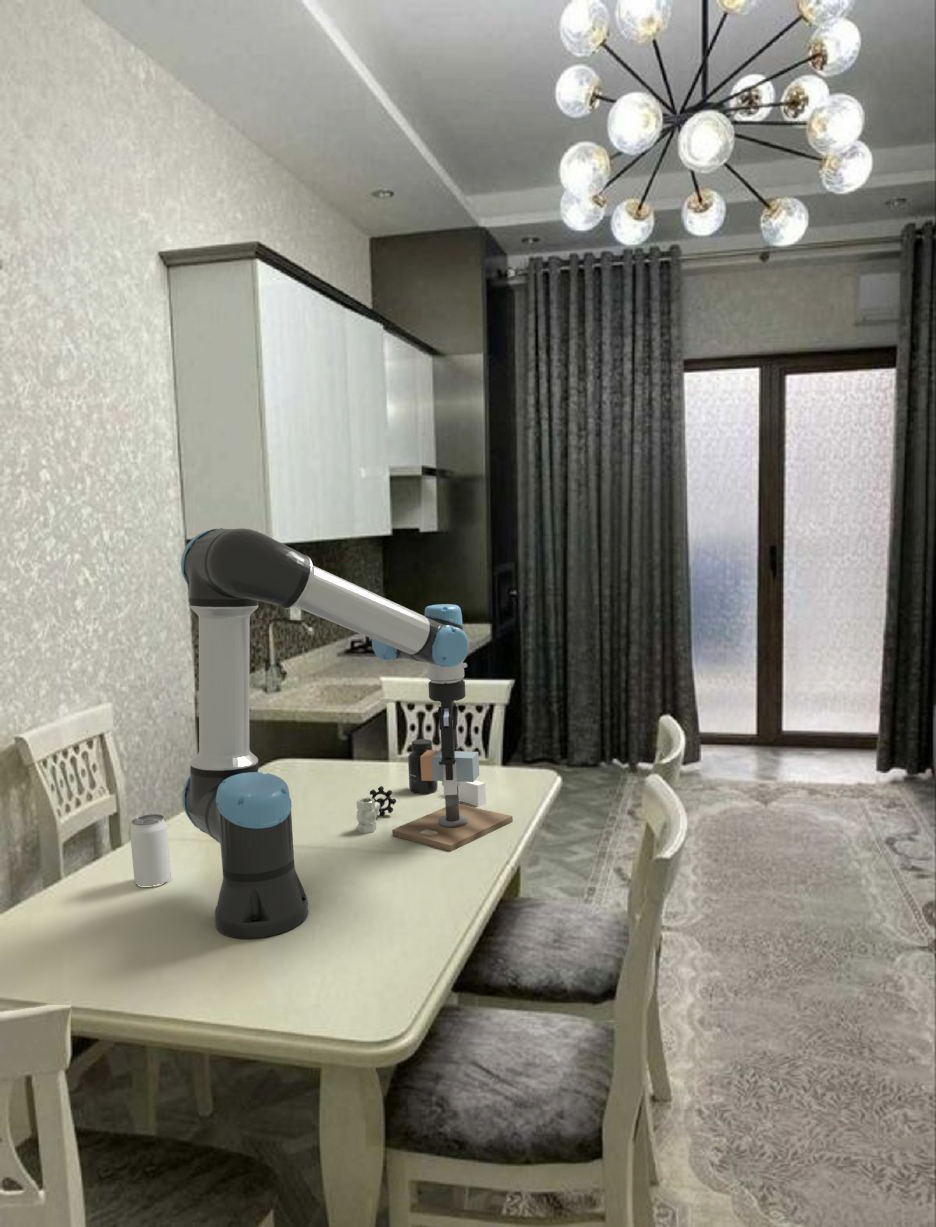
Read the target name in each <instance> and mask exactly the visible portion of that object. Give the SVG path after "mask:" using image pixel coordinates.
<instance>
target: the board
mask: <svg viewBox="0 0 936 1227" xmlns="http://www.w3.org/2000/svg"><path fill="white" fill-rule="evenodd" d="M444 803H445V805H444V806H445V807H443V808H441V809H438V810H435V811H433V812H431V813H429V814H426V815H424V816H421V817H420V818H417V819H414V820H411V821H409V822H407V823H405V824H403V825H399V826H397V827H395V828H393V829H391V833H392V834H391V835H392V836H394V837H396V838H401V839H405V840H408V841H412V842H416V843H419V844H423V845H427V846H430V847H434V848H438V849H442V850H446V851H449V852H452V851H455V850H457V849H459V848H460V847H463V846H466V845H467V844H469V843H471V842H473V841H475V840H477V839H479V838H481V837H484V836H486V835H487V834H490V833H492V832H495V830H497V829H498V830H499V829H500V828H502V827H504V826H507V825H509V824H511V823H513V821H514V820H513V815H509V814H505V813H501V812H496V811H492V810H488V809H487V810H486V809H482V808H479V807H474V806H469V805H465V804H460V801H459V797H458V786H457V795H444Z"/></svg>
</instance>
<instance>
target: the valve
mask: <svg viewBox="0 0 936 1227" xmlns="http://www.w3.org/2000/svg"><path fill="white" fill-rule="evenodd" d="M369 795H370V796H371V797H363V798H359V799H358V800H356V810H357V811H356V821H357V830H358V831H357V832H359V833H362V834H371V833H374V832H375V831H376V830H377V822H376V820H377V816H378V815H379V816H380V817H384V816H385V815H386V811H387V812H388V814H392V813H393V812H394V808H393V806H395V804H397V799H396V798H392V797H391V796H392V795H393V791H392V790H391V789H389V790H387V791H385V790H384V786H381V785H380V786H379V787H378V788H377V791H376V790H375V789H371V790H370V791H369ZM379 795H383V796H385V797H383V796H381V797H379V798H376V796H379ZM386 801H387V802H388V803H387V806H386V807H384V806H385V804H386Z"/></svg>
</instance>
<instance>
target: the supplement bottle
mask: <svg viewBox="0 0 936 1227" xmlns="http://www.w3.org/2000/svg"><path fill="white" fill-rule="evenodd" d="M427 750H433V742H432V740H431V739H428V738H420V739H414V740H413V741H411V751H412V752H410V753H409V755H408V757H407V761H408V762H407V763H408V764H407V765H408V767H407V768H408V786H409V787H408V788H409V791H410V793H412V794H415V795H428V794H433V793H435V792H436V791H437V790H438V788H439V787H438V782H439V781H422V779H421V759H420V756H421V755H423V754H424V753H425V752H426V751H427Z"/></svg>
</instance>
